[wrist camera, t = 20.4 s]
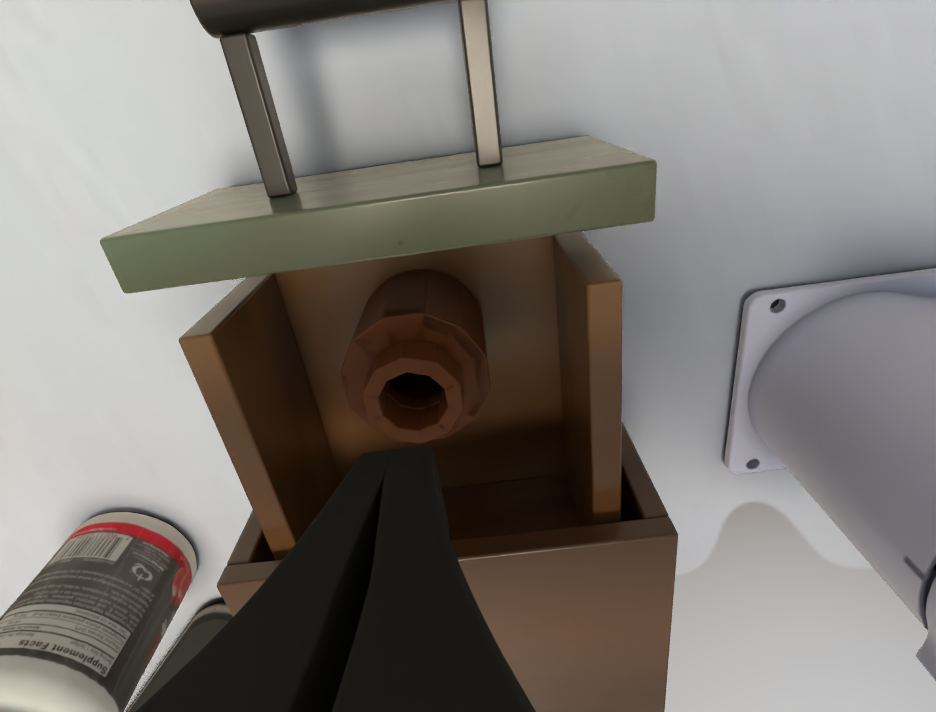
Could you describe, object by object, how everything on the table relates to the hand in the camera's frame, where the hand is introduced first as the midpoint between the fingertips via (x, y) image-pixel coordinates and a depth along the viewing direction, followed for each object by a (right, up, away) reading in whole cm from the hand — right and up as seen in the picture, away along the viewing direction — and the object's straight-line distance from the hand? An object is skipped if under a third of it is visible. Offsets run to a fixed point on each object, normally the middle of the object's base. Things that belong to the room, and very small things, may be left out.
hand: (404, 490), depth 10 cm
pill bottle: (-14, -6, +14) cm, 20 cm away
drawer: (0, +5, +7) cm, 9 cm away
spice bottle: (0, +4, +7) cm, 8 cm away
